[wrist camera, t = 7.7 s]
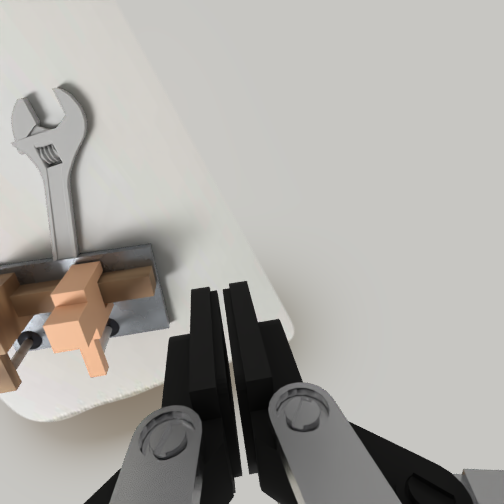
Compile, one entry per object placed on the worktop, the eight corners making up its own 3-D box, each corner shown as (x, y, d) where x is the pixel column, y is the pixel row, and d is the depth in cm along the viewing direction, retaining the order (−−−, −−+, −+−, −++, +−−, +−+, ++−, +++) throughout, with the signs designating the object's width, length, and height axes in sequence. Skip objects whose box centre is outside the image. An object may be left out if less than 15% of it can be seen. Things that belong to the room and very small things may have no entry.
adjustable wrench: (88, 315, 43) (84, 324, 42) (30, 312, 42) (24, 320, 40) (88, 95, 34) (83, 96, 32) (13, 82, 32) (4, 81, 31)
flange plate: (-18, 267, 38) (-23, 272, 37) (150, 243, 40) (149, 247, 39) (20, 347, 43) (16, 353, 42) (169, 323, 45) (169, 328, 44)
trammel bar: (-18, 277, 38) (-81, 331, 29) (148, 252, 39) (135, 297, 31) (19, 352, 42) (-27, 419, 33) (167, 328, 44) (159, 386, 35)
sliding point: (71, 265, 38) (37, 313, 30) (100, 261, 38) (73, 307, 30) (98, 341, 43) (74, 401, 34) (123, 336, 43) (106, 395, 35)
